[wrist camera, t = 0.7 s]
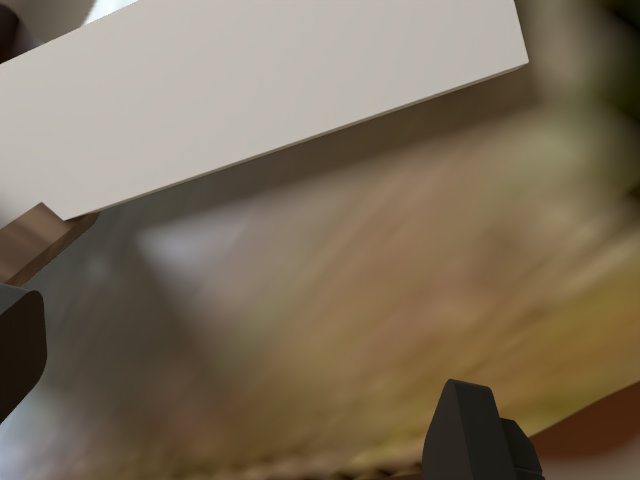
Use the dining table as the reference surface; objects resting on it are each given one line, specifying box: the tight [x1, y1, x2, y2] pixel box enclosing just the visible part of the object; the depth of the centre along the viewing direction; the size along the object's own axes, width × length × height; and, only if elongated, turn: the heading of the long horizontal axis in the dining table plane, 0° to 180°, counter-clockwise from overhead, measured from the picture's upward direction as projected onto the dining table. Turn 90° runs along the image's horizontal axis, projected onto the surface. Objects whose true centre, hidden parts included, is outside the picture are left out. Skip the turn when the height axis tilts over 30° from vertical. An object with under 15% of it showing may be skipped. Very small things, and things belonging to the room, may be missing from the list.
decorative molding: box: [0, 0, 529, 229], centre depth 31 cm, size 34×5×10 cm
